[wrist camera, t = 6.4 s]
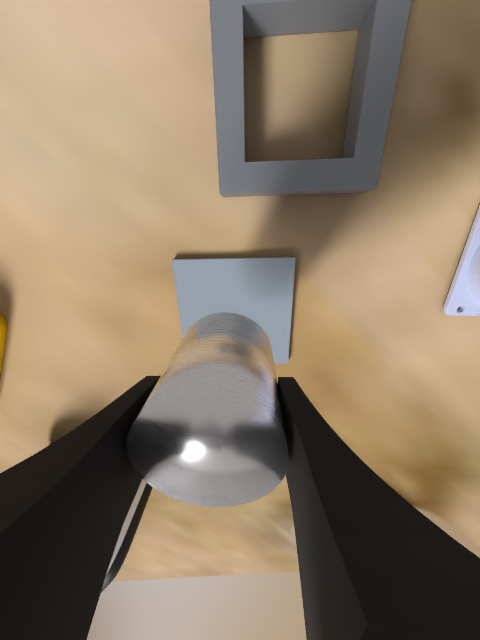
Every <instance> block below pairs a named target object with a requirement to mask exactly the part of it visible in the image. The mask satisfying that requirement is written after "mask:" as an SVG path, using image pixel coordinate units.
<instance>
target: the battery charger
mask: <svg viewBox="0 0 480 640" xmlns="http://www.w3.org/2000/svg"><path fill="white" fill-rule="evenodd" d="M152 488H153V487H152V486H150V485H149V484H148V483H147V482H146V481H144V480H143V479H142V478H141V481H140V483H139V485H138V487H137V490H136V492H135V494H134V497H133V499H132V502H131V504H130V507H129V509H128V512H127V515H126V518H125V521H124V524H123V526H122V529H121V532H120V535H119V538H118V541H117V544H116V547H115V550H114V553H113V556H112V559H111V562H110V565H109V568H108V571H107V574H106V577H105V580H104V584H103V587H102V590H101V592H102V591H103V590H104V589H105V588H106V587H107V586H108V585H109V584H110V583H111V582H112V581H113V579H114V578H115V577H116V575H117V573H118V572H119V570H120V568H121V566H122V564H123V562H124V560H125V558H126V555H127V553H128V551H129V548H130V546H131V543H132V541H133V538H134V535H135V533H136V530H137V528H138V525H139V522H140V520H141V517H142V514H143V512H144V509H145V506H146V504H147V501H148V498H149V496H150V493H151V490H152Z"/></svg>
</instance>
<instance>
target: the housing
mask: <svg viewBox="0 0 480 640" xmlns="http://www.w3.org/2000/svg"><path fill="white" fill-rule="evenodd" d="M411 1H412V0H210V19H211V38H212V57H213V76H214V95H215V113H216V132H217V151H218V170H219V189H220V194H221V195H222V196H223V197H241V196H271V195H300V194H330V193H360V192H364V191H368V190H372V189H375V188H376V187H377V182H378V177H379V171H380V166H381V161H382V156H383V150H384V145H385V140H386V134H387V129H388V124H389V118H390V113H391V108H392V102H393V97H394V92H395V86H396V81H397V76H398V70H399V65H400V60H401V54H402V49H403V44H404V39H405V33H406V28H407V23H408V17H409V12H410V7H411ZM348 30H358V36H357V44H356V52H355V60H354V68H353V75H352V83H351V91H350V99H349V106H348V114H347V122H346V130H345V137H344V145H343V153H342V158H333V159H309V160H285V161H261V162H245V88H244V38H250V37H264V36H278V35H292V34H306V33H320V32H334V31H348Z"/></svg>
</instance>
